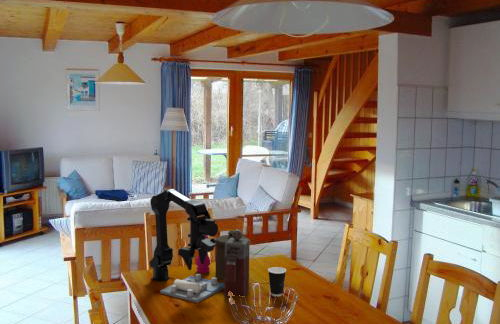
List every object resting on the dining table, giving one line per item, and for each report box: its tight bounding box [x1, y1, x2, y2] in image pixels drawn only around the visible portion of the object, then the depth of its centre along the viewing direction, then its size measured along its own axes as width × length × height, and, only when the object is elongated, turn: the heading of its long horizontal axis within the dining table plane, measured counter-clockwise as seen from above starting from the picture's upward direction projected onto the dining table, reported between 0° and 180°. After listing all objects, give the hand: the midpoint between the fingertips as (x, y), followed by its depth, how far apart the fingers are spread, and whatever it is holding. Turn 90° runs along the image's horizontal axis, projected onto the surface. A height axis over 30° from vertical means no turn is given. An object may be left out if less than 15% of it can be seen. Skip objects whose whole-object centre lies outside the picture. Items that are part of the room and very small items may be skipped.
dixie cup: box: [267, 266, 287, 298], centre depth 216 cm, size 8×8×11 cm
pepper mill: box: [195, 235, 211, 274], centre depth 245 cm, size 7×7×20 cm
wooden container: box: [215, 229, 248, 281], centre depth 239 cm, size 15×15×22 cm
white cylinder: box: [172, 278, 201, 294], centre depth 216 cm, size 12×4×4 cm, turn 59°
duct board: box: [159, 273, 225, 304], centre depth 220 cm, size 20×22×4 cm
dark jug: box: [223, 228, 251, 297], centre depth 215 cm, size 9×11×28 cm
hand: (196, 267), depth 217 cm, fingers open, 9 cm apart
